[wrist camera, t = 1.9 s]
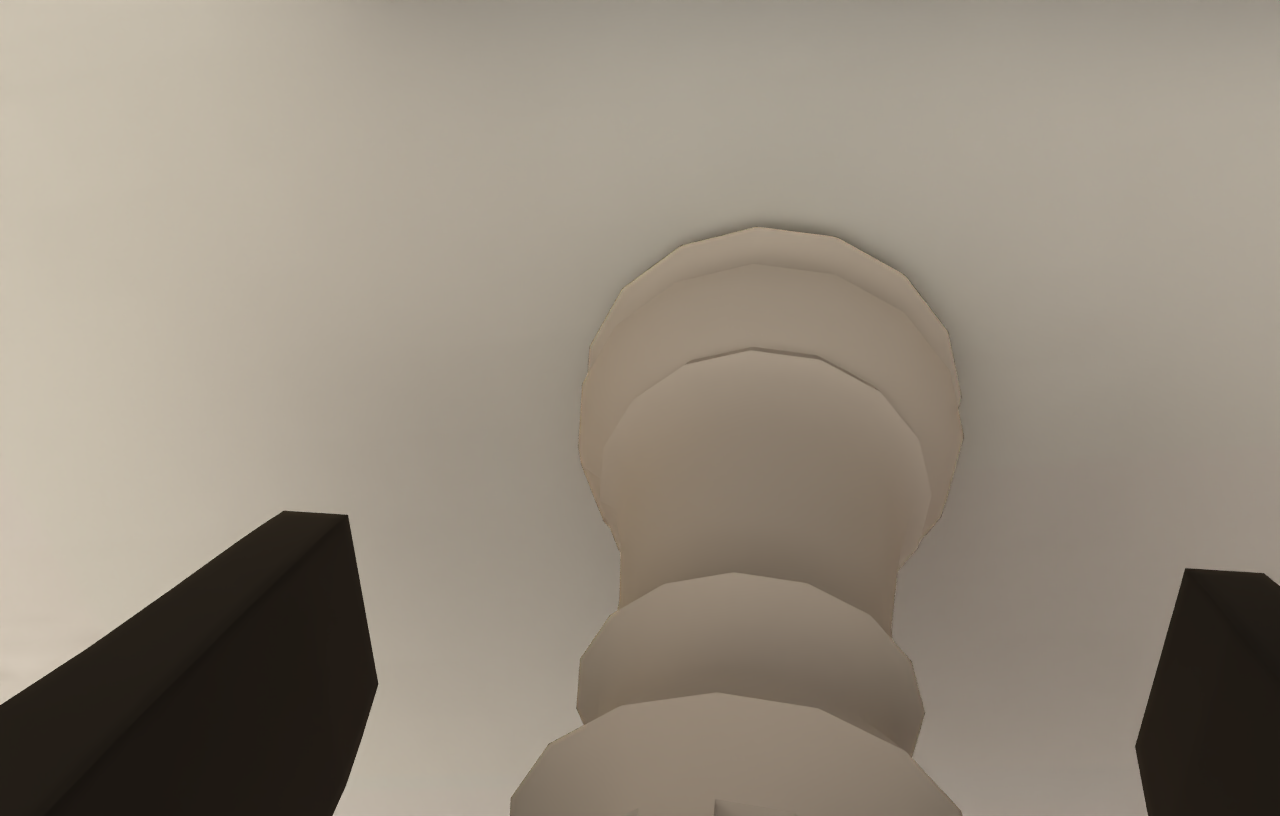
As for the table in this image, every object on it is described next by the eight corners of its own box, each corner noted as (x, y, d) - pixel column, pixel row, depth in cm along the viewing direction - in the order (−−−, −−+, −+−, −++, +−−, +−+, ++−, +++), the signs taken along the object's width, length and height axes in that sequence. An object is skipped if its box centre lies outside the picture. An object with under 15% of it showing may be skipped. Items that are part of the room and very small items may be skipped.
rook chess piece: (613, 533, 15) (453, 1161, 9) (566, 222, 13) (299, 732, 6) (952, 529, 15) (1072, 1215, 8) (962, 199, 12) (1139, 749, 6)
